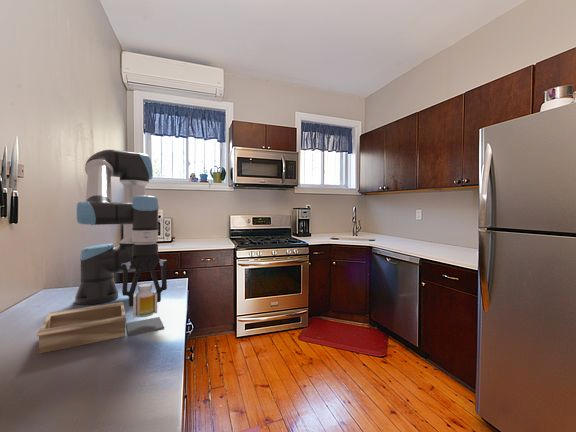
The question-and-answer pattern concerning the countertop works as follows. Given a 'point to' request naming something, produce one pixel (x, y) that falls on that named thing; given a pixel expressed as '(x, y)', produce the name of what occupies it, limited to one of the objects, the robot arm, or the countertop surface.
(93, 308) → the wooden frame
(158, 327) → the mat
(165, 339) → the countertop surface
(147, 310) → the supplement bottle
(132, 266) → the robot arm
